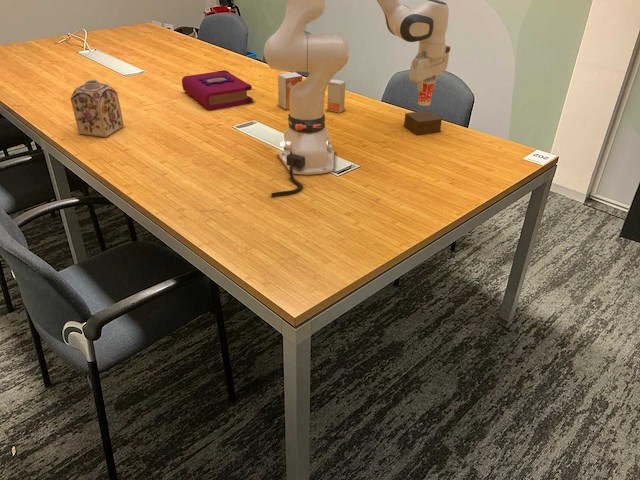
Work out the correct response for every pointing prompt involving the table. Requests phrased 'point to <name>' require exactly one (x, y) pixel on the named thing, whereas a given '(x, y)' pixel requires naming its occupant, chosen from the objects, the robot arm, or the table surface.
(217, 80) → the book
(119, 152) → the table surface
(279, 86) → the small box
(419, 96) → the beverage cup
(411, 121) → the walnut block
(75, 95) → the decorative jar
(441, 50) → the robot arm
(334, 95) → the cosmetic box
